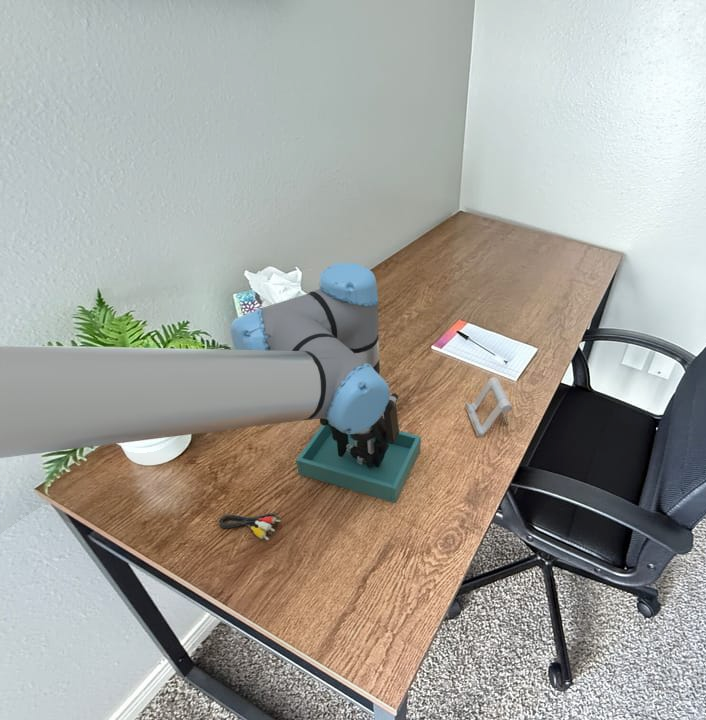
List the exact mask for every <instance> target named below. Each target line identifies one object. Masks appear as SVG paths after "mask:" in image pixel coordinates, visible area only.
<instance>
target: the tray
mask: <svg viewBox="0 0 706 720" xmlns="http://www.w3.org/2000/svg"><path fill="white" fill-rule="evenodd" d="M421 439H422V436H420V435H416V434H413V433H409V432H406V431H402V430H399V434H398V436H397V438H396V440H395V442H394V444H389V447H388V449H387V451H386V453H385V454H384V456H385V457H384V458H383V460H382V462H381V464H380V466H379V468H378V467H375V464H374V466H373V467H372V468H369V467H368V466H367V464H365V463H363V462H362V465H361V464H359V463H358V462H357V459H355V458H353V457H352V455H351V454H350V452H349V451H346V452H345V454H344V455H343V457H340V456H338V448H337V441H335V440H333V437H332V430H331V429H330V426H328V425H325V426H323V425H321V424H320V427H319V428H318V429H317V430H316V432H315V433H314V435H313V436H312V437H311V439H310V440H309V441H308V443H307V444H306V446H304V448H303V450H302V451H301V452H300V454H299V455H298V457H296V459H295V462H296V468H297V472H298V475H299V476H302V477H306V478H309V479H312V480H316V481H320V482H322V483H326V484H329V485H333V486H336V487H340V488H344V489H347V490H349V491H354V492H357V493H359V494H364V495H367V496H370V497H374V498H377V499H380V500H385V501H387V502H391V503H394V504H396V503H397V501H398V499H399V497H400V494H401V492H402V490H403V488H404V487H405V484H406V482H407V479H408V478H409V475H410V473H411V472H412V469H413V466H414V465H415V463H416V461H417V458H418V457H419V454H420V452H421ZM375 440H376V436H375V437H373V445H374V441H375ZM348 441H349V444H350V445H352V446H354V443H355V440H353V439H352V438H351V437H350V434H348ZM349 447H350V446H349ZM348 450H350V449H348ZM359 462H360V461H359ZM360 463H361V462H360Z"/></svg>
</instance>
